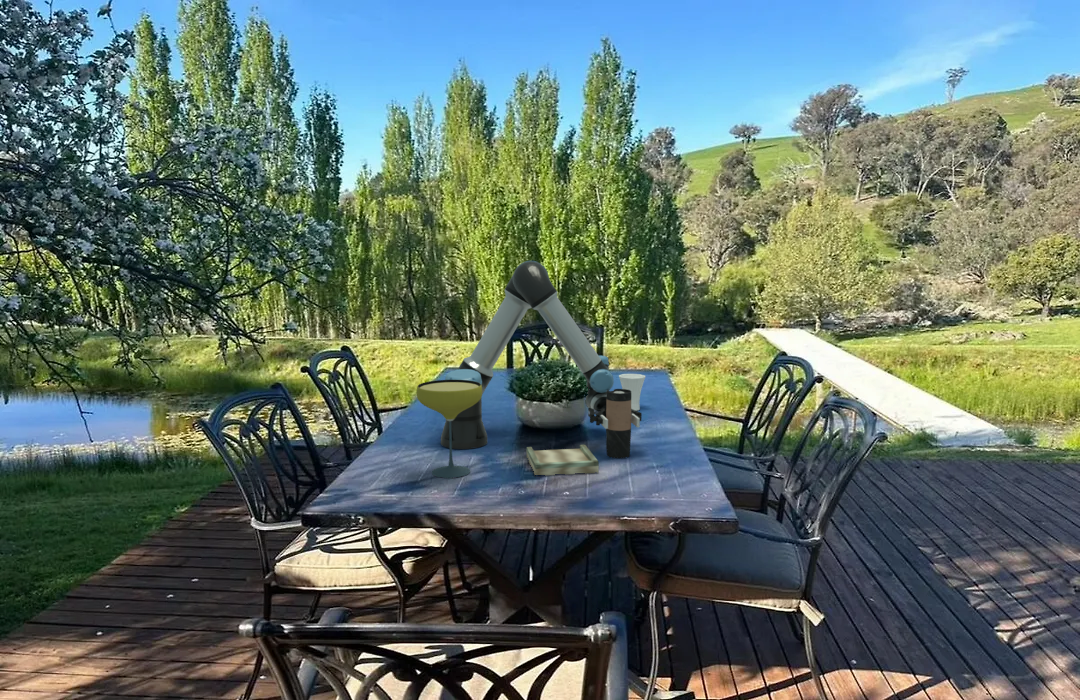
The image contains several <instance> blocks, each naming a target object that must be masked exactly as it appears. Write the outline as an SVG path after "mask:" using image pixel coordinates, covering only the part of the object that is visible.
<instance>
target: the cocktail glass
mask: <svg viewBox="0 0 1080 700" xmlns="http://www.w3.org/2000/svg"><path fill="white" fill-rule="evenodd" d="M481 397H482V398H483V394H482V385H481V384H480V383H478V382H475V381H469V380H445V379H439V380H438V379H437V380H430V381H426V382H422V383H419V384H417V386H416V398H417V400H418V402H419V403H420V404H422V405H423V406H424V407H426V408H429V409H431V410H432V411H434V412H437V413H439V414H440V415H442V417H443V418H444V419H445V421H446V420H447V421H449V448H448V449H449V456H448V457H449V458H448V459H449V460H448V464H447V465H442V466H439V467H435V468H434V469H432V470H431V474H432V475H433V476H434V475H435V476H434V477H436V476H437V478H440V477H443V478H442V479H454V478H453V477H458V478H462V477H461V476H463V477H465V476H464V475H466V476H467V474H468V475H470V473H471V469H470V467H467V466H463V465H455V464H454V461H453V449H452V434H451V421H453V420H454V419H455V417H456V416H457V415H458V414H459V413H460V412H462V411H463V410H465V409H467V408H469V407H471V406H473V405H474V404H476V403H477V402H478V401H479V400H480V399H481Z"/></svg>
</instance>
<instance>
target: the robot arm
mask: <svg viewBox="0 0 1080 700" xmlns="http://www.w3.org/2000/svg"><path fill="white" fill-rule="evenodd" d="M504 293H505V294H504V295H505V297H504V299H503V300H502V302H501V303H500V305H499V307H498V309H497V311H496V312H495V314H494V316H493V317H492V319H491V321H490V323H488V326H487V327H486V329H485V331H484V332H483V335H482V336H481V338H480V340H479V341H478V343H477V345H476V346H475V348H474V350H473V352H471V354H470V355H469V356H466V357H464V358H463V360H462V362H461V363H460V365H459V366H458V368H457V369H454V370H451V371H449V372H447V374H446V375H445V378H444V380H469V381H475V382H478V383H480V384H481V385H482V395H484V393H485V390H486V389H487V387H488V386H489V384H490V382H491V381H492V379H493V377H494V372H493V368H494V367H495V365H496V364H497V361H498V360H499V358H500V357H501V355H502V353H503V352H504V350H505V348H506V346H508V343H509V342H510V340H511V338H512V337H513V335H514V333H515V331H516V329H518V326H519V325H520V323H521V322H522V320H523V318H524V316H525V315H526V313H527V311H528V310H529V309H532V310H535V311H537V312H538V313H539V315H540V316H541V317H542V318H543V320H544V321H545V322H546V324H547V326H548V327H549V328H550V330H551V331H552V332H553V334H554V335H555V337H556V338H557V340H558V341H559V342H560V344H561V345H562V346H563V347H564V350H565V351H566V352H567V354H568V355H569V356H570V358H571V359H572V360H573V361H574V363H575V364H576V366H577V368H578V370H580V372H581V373H582V375H583V376H584V378H585V380H586V388H587V387H588V392H587V394H588V395H587V396H586V400H585V402H584V404H585V406H586V407H587V415H588V417H589V423H591V424H592V423H595V426H602V427H603V428H604V429H605V430H606V429H608V419H607V418H606V401H607V390H609V391H611V389H612V388H613V386H614V383H615V381H614V380H615V379H614V376H613V374H612V372H611V371H610V369H609V367H610V364H609V357H608V356H605V355H599V354H598V353H597V352H596V351H597V350H595V348H594V347H593V346H592V345H591V343H590V341H589V340H588V338H587V337H586V336H585V335H584V333H583V332H582V330H581V328H580V327H579V326H578V324H577V323H576V322H575V320H574V319H573V317H572V316H571V314H570V313H569V312H568V310H567V309H566V307H565V306H564V305H563V302H561V300H560V299H559V298H558V291H557V289H556V288H555V286H554V285H553V283H552V280H551V279H550V276H549V273H548V270H547V268H546V267H545V266H544V265H543V264H542V263H540V262H538V261H535V260H527V261H523V262H522V263H520V264H519V265H518V266H516V268H515V270H514V272H513V275H512V276H511V277H510V279H509V281H508V283H507V284H506V286H505V289H504ZM589 389H590V390H589ZM482 399H483V396H482V397H481V399H480V400H479V401H478V402H477V403H476V404H474V405H473V406H471V407H469V408H467V409H465V410H463V411H462V412H460V413H459V414H458V415H457V416H456V417H455V419H454V420H453V421H451V434H452V450H453V449H454V450H469V449H476V448H477V449H478V448H481V447H484V446H486V445H487V444H488V434H487V431H486V427H485V425H484V421H483V416H482V415H483V413H482V412H483V407H482V405H483V403H482V402H483V401H482ZM641 422H642V412H640V411H639V410H637V411H636V410H633V409H631V425H634V426H635V428H640V423H641ZM440 445H441V446H442V447H445V448H448V449H449V421H447V420H446V419H445V423H444V425H443V428H442V432H441V436H440Z"/></svg>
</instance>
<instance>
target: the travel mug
mask: <svg viewBox="0 0 1080 700" xmlns="http://www.w3.org/2000/svg"><path fill="white" fill-rule="evenodd" d="M606 418H607V419H608V429H605V443H606V444H605V445H606V447H605V451H606V456H607V457H608V456H609V458H611V457H612V459H626V457H627V458H630V456H631V440H632V439H631V437H632V436H631V435H632V423H631V391H630V390H627V389H622V388H614V389H613V390H607V401H606Z"/></svg>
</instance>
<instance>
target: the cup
mask: <svg viewBox="0 0 1080 700" xmlns="http://www.w3.org/2000/svg"><path fill="white" fill-rule="evenodd" d="M618 378H619V382H620V385H621V389H627V390H630V391H631V409H633V410H636V411H639V410H641V408H640V407H641V406H640V405H641V404H640V398H641V392H642V389H643V386H644V382H645V380H646V375H644V374H640V373H622V374H619V375H618Z"/></svg>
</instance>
